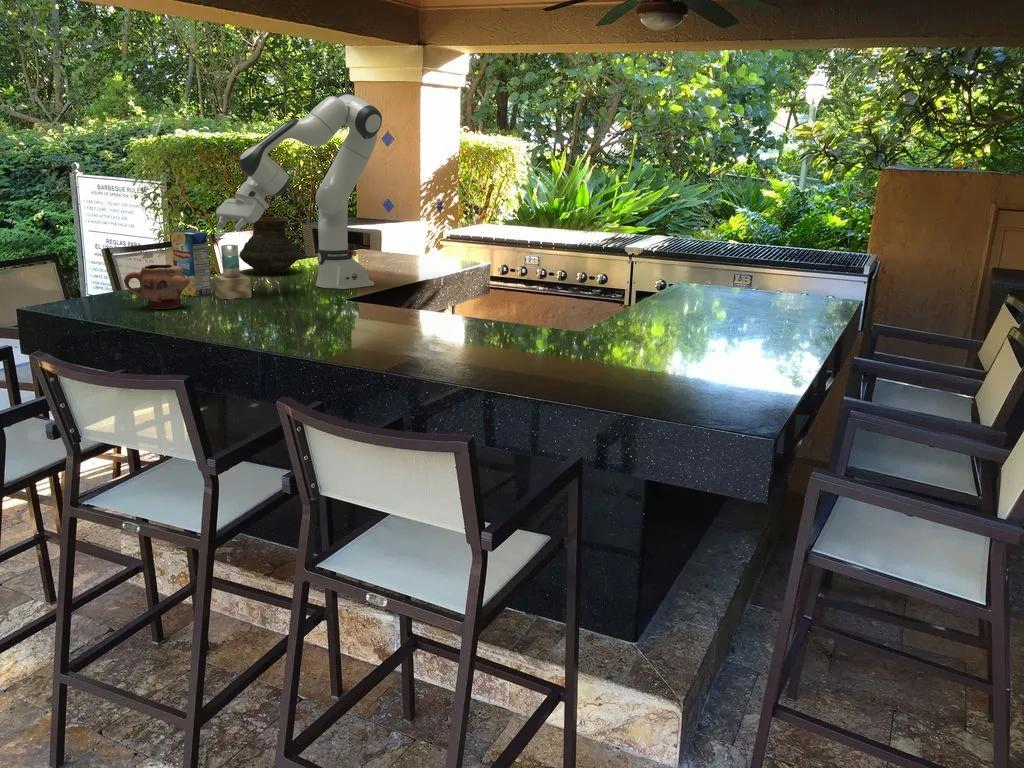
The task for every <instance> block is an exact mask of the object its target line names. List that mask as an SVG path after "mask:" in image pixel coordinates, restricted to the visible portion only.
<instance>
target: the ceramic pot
mask: <svg viewBox="0 0 1024 768" xmlns="http://www.w3.org/2000/svg"><path fill="white" fill-rule="evenodd" d="M288 221H289V219H288V218H286V217H279V216H261V217H260V218H259V219H258V221H256V222H255V223H252V226H253V231H252V235H251V236H250V238H249V239H248V241H246V242H245V243H244V246H243V248H242V249H241V250H240V251H239V253H238V255H239V259H241V260H242V261H243V263H245V264H247V265H248V266H249V267H251V268H252V269H253V270H254V271H256V272H258V273H259V274H262V275H277V274H281V273H282V272H285V271H286V270H288V268H290V267H291V266H293V265H294V264H295V263H296V262H297V260H299V259H300V257H301V253H300V251H299V250H298V248H297V247H296V246H295V245H294V244H293V242H292V241H290V239H289V238H288V237H287V233H286V223H287V222H288Z"/></svg>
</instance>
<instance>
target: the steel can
mask: <svg viewBox="0 0 1024 768" xmlns="http://www.w3.org/2000/svg"><path fill="white" fill-rule="evenodd" d="M238 246H239V245H238V244H222V245H220V248H221V263H222V275H223V277H224V278H238V277H240V274H241V273H240V272H241V271H240V257H239V247H238Z"/></svg>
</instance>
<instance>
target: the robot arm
mask: <svg viewBox="0 0 1024 768" xmlns="http://www.w3.org/2000/svg"><path fill="white" fill-rule="evenodd" d="M382 123H383V116H382V113H381V111H379V110H378V108H376V107H375V106H374V105H372V104H370V103H369V102H368V101H366V100H365V99H363V98H359V97H358V96H356V95H354V94H353V93H351V92H344V91H342V92H339V93H337V94H335V95H334V96H333V95H329V96H327V97H325V98H324V99H323V100H321V102H319V103H318V104H317V105H316V106H315V107H313V109H312V110H311V111H310V112H309V113H308V114H307V115H306V116H304V117H302V118H298V119H297V118H296V117H295V118H291V119H288V120H287V121H285V122H283V123H282V124H280V125H279V126H278V127H276V128H275V129H274V130H273V131H272V132H270V133H269V134H267V135H266V136H265V137H264V138H262V139H261V140H259V141H258V142H257V143H255V144H254V145H252V146H251V147H249V148H247V149H246V150H245V151H243V152H242V154H241V155H240V157H238V161H239V162H238V164H239V168H240V171H241V172H243V173H244V174H245V175H246V176H247V179H246V181H245V182H243V183H242V184H241V186H240V187H239V188H238V190H237V191H236V192H235V195H234V196H232V197H231V198H226V199H225V200H224V201H223V202H222V203H221V204H220V206H219V207H218V208H217V209H216V211H215V215H216V216H217V217H218V218H219V219H218V222H217V224H216V227H217V228H218V229H219V230H220V229H221V230H223V228H224V227H225V223H226V222H227V221H233V222H237V223H235V224H233V226H232V228H233V230H234V231H237V232H239V231H240V230H241V228H243V227H244V226H245V225H247V223H248V224H249V223H251V224H253V223H255V222H256V221H258V219H259V218H260V217H262V215H264V213H265V210H268V208H269V207H270V205H269V203H268V202H267V201H266V200H265V198H266V196H267V195H268V196H272V197H273V196H274V197H276V196H277V197H279V196H282V195H283V194H284V193H285V192H286V190H287V189H288V188H289V186H290V183H291V182H290V180H291V179H290V176H289V175H288V173H287V172H286V171H285V170H284V169H283V168H282V167H281V166H280V165H279V164H278V163H277V162H276V161H274V160H273V159H272V158H271V157H270V156H269V155H268V154H269V152H271V151H272V150H273V149H274V148H276V147H277V146H279V145H280V144H281V143H282V142H283V141H285V140H288V139H293V140H295V141H298V142H301V143H303V144H304V145H308V146H310V147H316V148H318V147H323V146H324V145H326V144H327V143H328V142H329V141H330V140H331V139H332V138H333V137H334V135H336V134H337V133H338V132H339V130H340V128H341V127H342V126H346V127H348V129H349V130H348V134H347V136H346V137H345V139H344V141H343V142H342V144H341V146H340V148H339V150H338V152H337V155H336V156H335V158H334V160H333V161H332V164H331V166H330V167H329V169H328V171H327V173H326V174H325V177H324V178H323V180H322V182H321V184H320V185H319V187H318V190H317V191H316V194H315V203H316V206H317V207H318V220H317V221H318V222H317V232H318V233H317V237H318V249H317V255H316V256H317V263H318V270H317V278H316V283H315V286H316V287H319V288H325V289H337V290H346V289H347V290H349V289H356V288H364V287H372V286H374V285H375V282H374V281H372V280H370V279H369V275H368V270H367V269H366V268H365V267H364V266H363V265H362V264H360V263H359V262H358V261H357V260H355V259H354V258H353V257H356V256H357V255H358V252H357V251H356V250H352V249H349V243H348V242H349V241H348V240H349V239H348V235H349V233H348V224H349V223H348V220H349V219H348V215H349V213H348V212H349V210H348V209H349V207H348V203H349V201H348V200H349V198H350V196H351V194H352V192H353V191H354V188H355V187H356V186H357V183H358V181H359V180H360V177H361V176H362V174H363V171H364V170H365V168H366V166H367V164H368V162H369V160H370V158H371V156H372V154H373V152H374V149H375V147H376V143H377V140H378V132H379V131H380V128H381V127H382Z"/></svg>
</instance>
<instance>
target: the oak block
mask: <svg viewBox="0 0 1024 768" xmlns="http://www.w3.org/2000/svg"><path fill="white" fill-rule="evenodd" d="M213 281H214V283H213V284H214V285H213V286H214V294H215V297H217V296H218V297H217V298H219V299H221V300H222V299H223V301H225V300H224V299H228V300H236V299H235V298H242V299H252V298H251V297H252V283H251V282H252V281H251V277H249V276H247V275H245V274H242V273H240V277H238V278H224V277H223V274H221V275H220V274H219V275H213Z"/></svg>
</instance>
